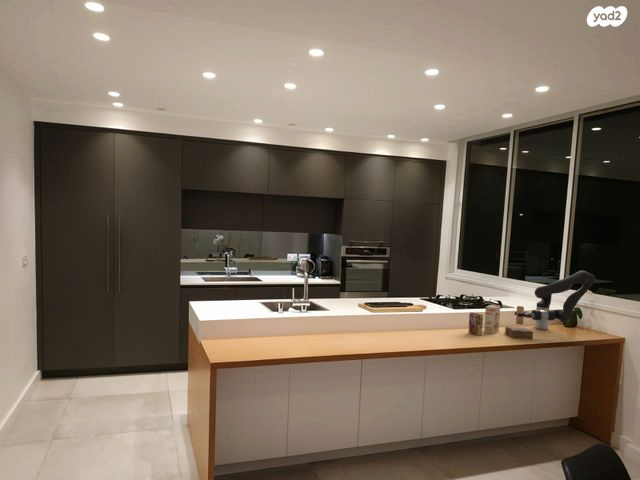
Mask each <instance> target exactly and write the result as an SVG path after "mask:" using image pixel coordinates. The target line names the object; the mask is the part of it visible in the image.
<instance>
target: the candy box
mask: <svg viewBox="0 0 640 480" xmlns="http://www.w3.org/2000/svg"><path fill="white" fill-rule="evenodd" d="M468 318H469V319H468V331H467V332H468V334H470V335H474V336H479V337H480V336H482V335H483V325H484V324H483V322H484V314H482V313H478V312H469V317H468Z"/></svg>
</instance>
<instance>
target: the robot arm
mask: <svg viewBox="0 0 640 480" xmlns="http://www.w3.org/2000/svg"><path fill="white" fill-rule="evenodd" d="M595 281H596V276H595V275H594V274H593V273H590V272H587V271H585V270H579V271H577V272H575V273H573V274H572V275H569V276H567V277H565V278H561V279H559V280H556V281H553V282H551V283H548V284H547V285H542V286H538V287H537V288H535V289H534V296H535V297H536V298H538V299H540V301H538V302H537V303H536V309H532V310H531V311H526V310H524V314H523V313H518V316H519V317H524V318H527V319H532V320H533V321H535V326H534V328H535V329H540V330H548V329H549V321H555V320H556V319H557V320H559V321H560V322H561V323H567V322H569V321H570V320H571V317H572V314H573V312H574V309H575V308H576V306H577V304H578V302H579V301H580V300H581V299H582V297H583V296H584V295H585V294H586V293H587V292H588V291H589V289H590V288H591V287H592V286H593V284H594V283H595ZM578 283H579V284H580V285H582V286H581V287H580V288H579V289H578V290H576V291H574V292H573V293H571V294H570V295H569V296H568V297H566V300H565V301H564V303H563V304H562V307H563V309H556V310H554V309H553V310H550V306H551V303H552V295H554V294H559V293H560V294H561V293H565V292H567V291H569V290H571V288H572V287H573V285H574V284H578ZM516 314H517V311H514V316H516Z"/></svg>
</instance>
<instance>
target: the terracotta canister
mask: <svg viewBox="0 0 640 480" xmlns="http://www.w3.org/2000/svg"><path fill="white" fill-rule="evenodd" d="M524 311H525V307H524V306H521V305H519V306H516V312H517V314H516V315H515V316H516V318H515V324H516V325H522V326H523V325H524V318H525V317H519V316H518V313H523V314H524Z"/></svg>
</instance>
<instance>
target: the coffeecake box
mask: <svg viewBox="0 0 640 480" xmlns="http://www.w3.org/2000/svg"><path fill="white" fill-rule="evenodd" d="M484 315H485V316H484V326H483V327H484V328H483V329H484V331H483V332H484V333H486V334H490V335H494V334H496V333H498V332H500V315H501V305H498V304H490V305H489V304H488V306H485V313H484Z"/></svg>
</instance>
